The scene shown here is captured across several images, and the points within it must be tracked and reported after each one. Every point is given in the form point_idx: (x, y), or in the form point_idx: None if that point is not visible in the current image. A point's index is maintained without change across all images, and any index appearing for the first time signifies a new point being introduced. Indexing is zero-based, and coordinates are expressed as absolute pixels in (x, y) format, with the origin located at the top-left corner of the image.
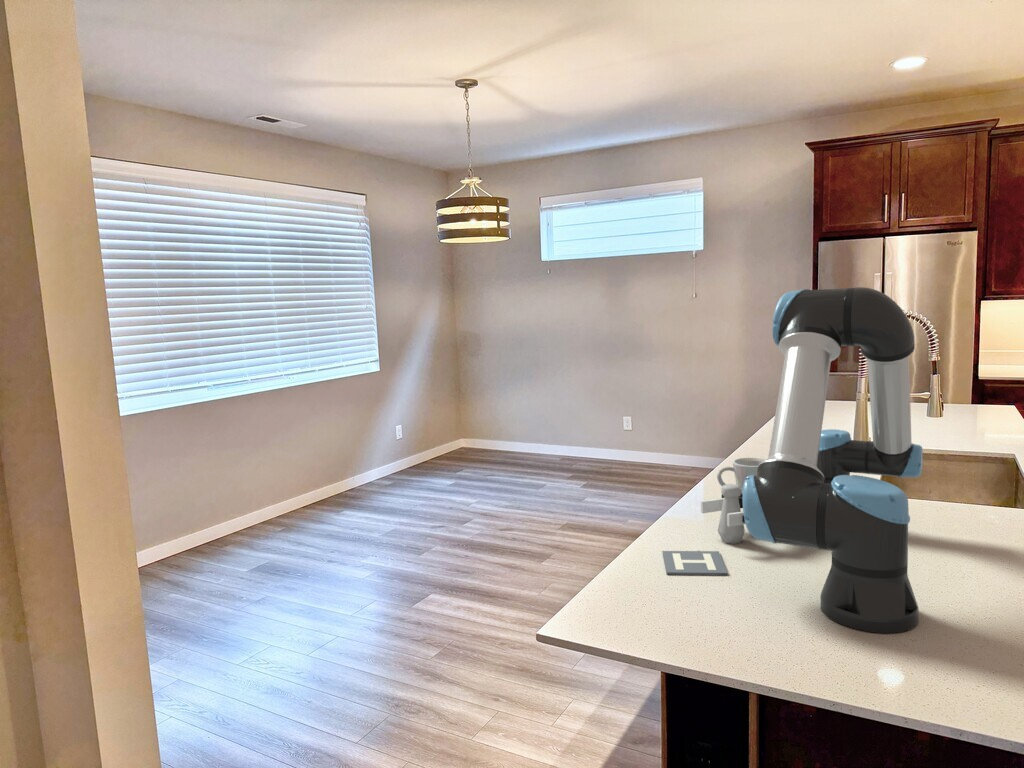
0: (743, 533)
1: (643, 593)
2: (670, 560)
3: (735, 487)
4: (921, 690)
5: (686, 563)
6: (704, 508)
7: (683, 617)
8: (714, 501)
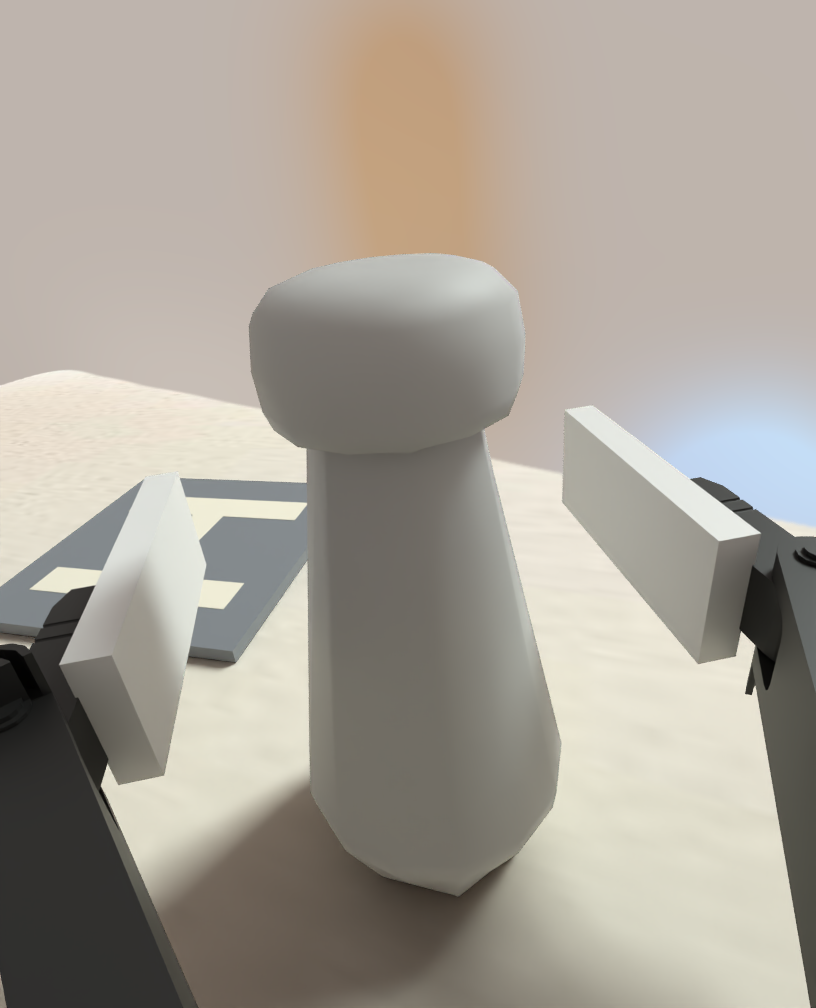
0: (334, 830)
1: (78, 445)
2: (239, 492)
3: (277, 287)
4: None
5: None
6: (572, 474)
7: None
8: (619, 470)
